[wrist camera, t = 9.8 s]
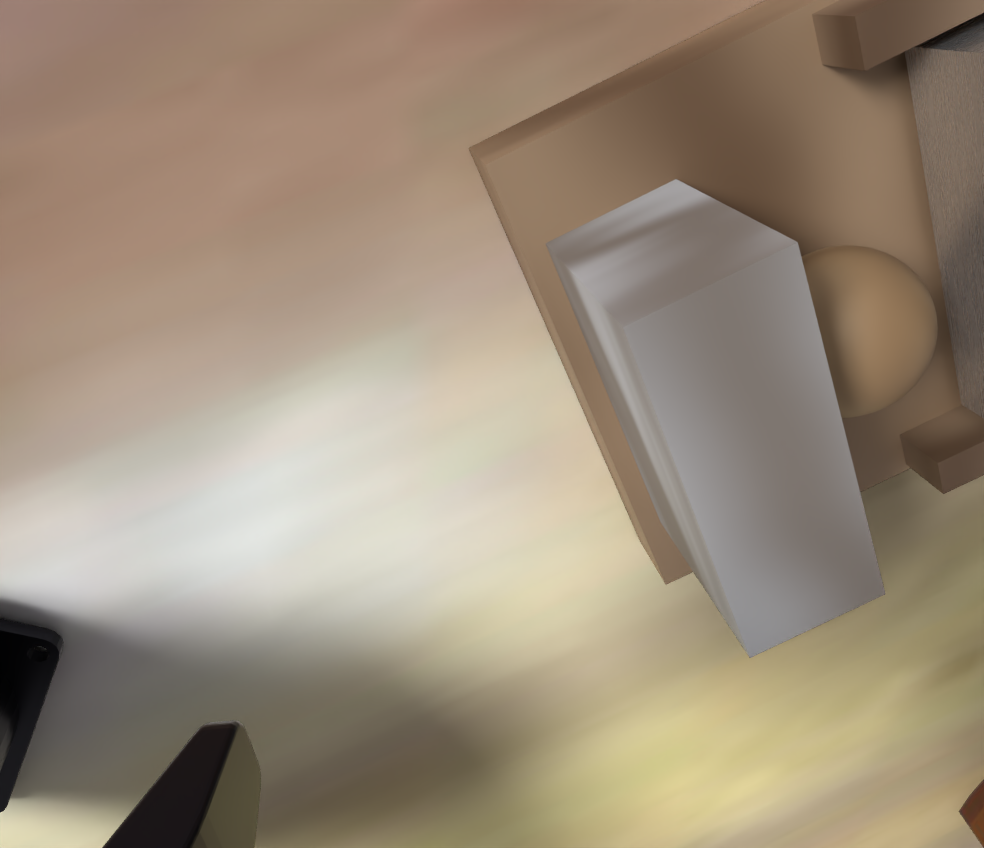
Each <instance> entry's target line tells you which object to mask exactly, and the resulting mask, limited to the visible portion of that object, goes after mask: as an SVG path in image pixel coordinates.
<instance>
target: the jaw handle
mask: <svg viewBox="0 0 984 848" xmlns="http://www.w3.org/2000/svg"><path fill="white" fill-rule="evenodd" d="M905 57H906V63H907V69H908V75H909V81H910V88H911V94H912V100H913V106H914V113H915V119H916V125H917V131H918V138H919V144H920V150H921V156H922V163H923V169H924V175H925V181H926V187H927V194H928V200H929V206H930V212H931V219H932V225H933V231H934V237H935V244H936V250H937V256H938V262H939V269H940V275H941V281H942V287H943V293H944V300H945V306H946V312H947V318H948V325H949V331H950V337H951V343H952V350H953V356H954V362H955V368H956V375H957V381H958V387H959V393H960V399H961V404H962V405H964V406H965V407H967V408H968V409H970V410H971V411H973V412H975V413H976V414H978V415H979V416H981V417H982V418H984V13H982V14H980V15H978V16H976V17H974V18H972V19H970V20H968V21H966V22H964V23H962V24H959V25H957V26H955V27H953V28H951V29H949V30H947V31H945V32H943V33H941V34H939V35H937V36H935V37H933V38H931V39H929V40H927V41H925V42H923V43H921V44H919V45H917V46H915V47H913V48H911V49H909V50H907V51H905Z"/></svg>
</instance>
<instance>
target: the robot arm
mask: <svg viewBox="0 0 984 848" xmlns="http://www.w3.org/2000/svg"><path fill="white" fill-rule="evenodd" d="M34 646H41V647H43V648H46V649H47V651H39V650H36V649H35V648H34ZM62 650H63V640H62V638H61V636H60V635H59V634H57V633H56V632H55V631H52V630H49V629H46V628H42V627H37V626H32V625H28V624H23V623H19V622H14V621H9V620H5V619H0V812H2V811H4V810H5V808H6V807H7V805H8V802H9V799H10V797H11V794H12V791H13V788H14V785H15V782H16V780H17V777H18V774H19V771H20V768H21V766H22V763H23V760H24V757H25V754H26V751H27V749H28V746H29V743H30V740H31V737H32V734H33V732H34V729H35V726H36V723H37V720H38V717H39V715H40V712H41V709H42V706H43V703H44V700H45V698H46V695H47V692H48V689H49V686H50V683H51V681H52V678H53V675H54V672H55V669H56V667H57V664H58V661H59V658H60V655H61V652H62ZM260 789H261V774H260V767H259V764H258V761H257V758H256V755H255V753H254V750H253V747H252V745H251V742H250V740H249V737H248V734H247V732H246V729H245V727H244V725H243V724H242V723H241V722H239V721H222V722H211V723H207V724H205V725H203V726H201V727H200V728H199V729H198V730H197V731H196V733H195V734H194V735H193V736H192V737H191V739H190V740H189V741H188V742H187V744H186V745H185V746H184V747H183V749H182V750H181V751H180V752H179V754H178V755H177V756H176V757H175V758H174V760H173V761H172V762H171V763H170V765H169V766H168V767H167V768H166V770H165V771H164V772H163V773H162V775H161V776H160V777H159V778H158V780H157V781H156V782H155V783H154V784H153V786H152V787H151V788H150V789H149V791H148V792H147V793H146V794H145V796H144V797H143V798H142V799H141V801H140V802H139V803H138V804H137V805H136V807H135V808H134V809H133V810H132V812H131V813H130V814H129V815H128V817H127V818H126V819H125V820H124V822H123V823H122V824H121V825H120V827H119V828H118V829H117V830H116V831H115V833H114V834H113V835H112V836H111V838H110V839H109V840H108V841H107V843H106V844H105V845H104V846H103V848H254V847H255V837H256V828H257V818H258V808H259V799H260Z"/></svg>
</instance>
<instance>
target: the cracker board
mask: <svg viewBox="0 0 984 848" xmlns="http://www.w3.org/2000/svg"><path fill="white" fill-rule="evenodd" d="M982 13H984V0H765V1H763V2H761V3H759V4H757V5H755V6H753V7H751V8H749V9H747V10H745V11H743V12H741V13H739V14H737V15H735V16H733V17H731V18H729V19H727V20H725V21H723V22H721V23H719V24H717V25H715V26H713V27H711V28H709V29H707V30H705V31H703V32H701V33H699V34H697V35H695V36H693V37H691V38H689V39H687V40H685V41H683V42H681V43H679V44H677V45H675V46H673V47H671V48H669V49H667V50H665V51H663V52H661V53H659V54H657V55H655V56H653V57H651V58H649V59H647V60H645V61H643V62H641V63H639V64H637V65H635V66H633V67H631V68H629V69H627V70H625V71H623V72H621V73H619V74H617V75H615V76H613V77H611V78H609V79H607V80H605V81H603V82H601V83H599V84H597V85H595V86H593V87H591V88H589V89H587V90H585V91H583V92H580V93H578V94H576V95H574V96H572V97H570V98H568V99H566V100H564V101H562V102H560V103H558V104H556V105H554V106H552V107H550V108H548V109H546V110H544V111H542V112H540V113H538V114H536V115H534V116H532V117H530V118H528V119H526V120H524V121H522V122H520V123H518V124H516V125H514V126H512V127H510V128H508V129H506V130H504V131H502V132H500V133H498V134H496V135H494V136H492V137H490V138H488V139H486V140H484V141H482V142H480V143H478V144H476V145H474V146H472V147H470V148H469V150H470V152H471V155H472V157H473V159H474V162H475V164H476V166H477V168H478V171H479V173H480V175H481V178H482V180H483V182H484V185H485V187H486V189H487V191H488V194H489V196H490V198H491V201H492V203H493V205H494V207H495V210H496V212H497V214H498V217H499V219H500V221H501V223H502V226H503V228H504V230H505V233H506V235H507V237H508V240H509V242H510V244H511V246H512V249H513V251H514V253H515V256H516V258H517V260H518V262H519V265H520V267H521V269H522V272H523V274H524V276H525V278H526V281H527V283H528V285H529V288H530V290H531V292H532V295H533V297H534V299H535V301H536V304H537V306H538V308H539V311H540V313H541V315H542V317H543V320H544V322H545V324H546V327H547V329H548V331H549V334H550V336H551V338H552V340H553V343H554V345H555V347H556V350H557V352H558V354H559V356H560V359H561V361H562V363H563V366H564V368H565V370H566V372H567V375H568V377H569V379H570V382H571V384H572V386H573V389H574V391H575V393H576V395H577V398H578V400H579V402H580V405H581V407H582V409H583V411H584V414H585V416H586V418H587V421H588V423H589V425H590V427H591V430H592V432H593V434H594V437H595V439H596V441H597V444H598V446H599V448H600V450H601V453H602V455H603V457H604V460H605V462H606V464H607V466H608V469H609V471H610V473H611V476H612V478H613V480H614V482H615V485H616V487H617V489H618V492H619V494H620V496H621V499H622V501H623V503H624V505H625V508H626V510H627V512H628V515H629V517H630V519H631V521H632V524H633V526H634V528H635V531H636V533H637V535H638V537H639V540H640V542H641V544H642V545H643V547H644V549H645V550H646V552H647V554H648V555H649V557H650V559H651V560H652V562H653V564H654V565H655V567H656V569H657V570H658V572H659V574H660V575H661V577H662V579H663V580H664V582H665V584H668V583H670V582H673V581H675V580H677V579H679V578H681V577H683V576H685V575H687V574H689V573H692V572H694V574H695V575H696V577H697V578H698V580H699V581H700V583H701V584H702V586H703V587H704V589H705V590H706V592H707V593H708V595H709V597H710V598H711V600H712V601H713V603H714V604H715V606H716V607H717V609H718V610H719V612H720V613H721V615H722V616H723V618H724V619H725V621H726V622H727V624H728V625H729V627H730V628H731V630H732V632H733V633H734V635H735V636H736V638H737V639H738V641H739V642H740V644H741V645H742V647H743V648H744V650H745V651H746V653H747V654H748V656H749V657H750V658H751V657H753V656H755V655H757V654H759V653H761V652H764V651H766V650H768V649H770V648H772V647H774V646H776V645H778V644H781V643H783V642H785V641H787V640H789V639H791V638H793V637H795V636H798V635H800V634H802V633H804V632H806V631H808V630H810V629H812V628H815V627H817V626H819V625H821V624H823V623H825V622H827V621H829V620H831V619H834V618H836V617H838V616H840V615H842V614H844V613H846V612H848V611H851V610H853V609H855V608H857V607H859V606H861V605H863V604H865V603H868V602H870V601H872V600H874V599H876V598H878V597H880V596H882V595H885V590H884V586H883V582H882V578H881V574H880V570H879V566H878V562H877V558H876V554H875V550H874V546H873V542H872V538H871V534H870V530H869V526H868V522H867V518H866V514H865V510H864V506H863V502H862V498H861V494H860V492H862V491H864V490H866V489H868V488H870V487H872V486H874V485H877V484H879V483H881V482H883V481H885V480H887V479H889V478H891V477H893V476H895V475H898V474H900V473H902V472H904V471H906V470H908V469H910V468H912V469H913V470H914V471H915V472H917V473H918V474H919V475H920V476H922V477H923V478H924V479H925V480H927V481H928V482H929V483H930V484H932V485H933V486H934V487H935V488H937V489H938V490H939V491H940V492H942V493H943V494H945V493H947V492H949V491H951V490H953V489H955V488H957V487H959V486H961V485H964V484H966V483H968V482H970V481H972V480H974V479H976V478H978V477H980V476H983V475H984V418H982V417H981V416H979V415H978V414H976V413H975V412H973V411H971V410H970V409H968V408H967V407H965V406H964V405H962V404H961V399H960V393H959V387H958V381H957V375H956V368H955V362H954V356H953V350H952V343H951V337H950V331H949V325H948V318H947V312H946V306H945V300H944V293H943V287H942V281H941V275H940V269H939V262H938V256H937V250H936V244H935V237H934V231H933V225H932V219H931V212H930V206H929V200H928V194H927V187H926V181H925V175H924V169H923V163H922V156H921V150H920V144H919V138H918V131H917V125H916V119H915V113H914V106H913V100H912V94H911V88H910V81H909V75H908V69H907V63H906V57H905V51H907V50H909V49H911V48H913V47H915V46H917V45H919V44H921V43H923V42H925V41H927V40H929V39H931V38H933V37H935V36H937V35H939V34H941V33H943V32H945V31H947V30H949V29H951V28H953V27H955V26H957V25H959V24H962V23H964V22H966V21H968V20H970V19H972V18H974V17H976V16H978V15H980V14H982Z"/></svg>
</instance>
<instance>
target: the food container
mask: <svg viewBox="0 0 984 848" xmlns="http://www.w3.org/2000/svg"><path fill="white" fill-rule="evenodd" d="M959 812H960V814H961V815H962V817H963V818H964V820H965V821H966V823H967V824H968V826H969V827H970V829H971V830H972V831H973V833H974V834H975V836H976V837H977V839H978V840H979V842H980V843H981V845H982V846H983V848H984V780H983V781H982V782H981V783H980V784H979V786H978V787H977V788H976V789H975V790H974V791H973V793H972V794H971V795H970V796H969V798H968V799H967V800H966V802H965V803H964V805H963V806H962V808H961V809H960V811H959Z"/></svg>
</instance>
